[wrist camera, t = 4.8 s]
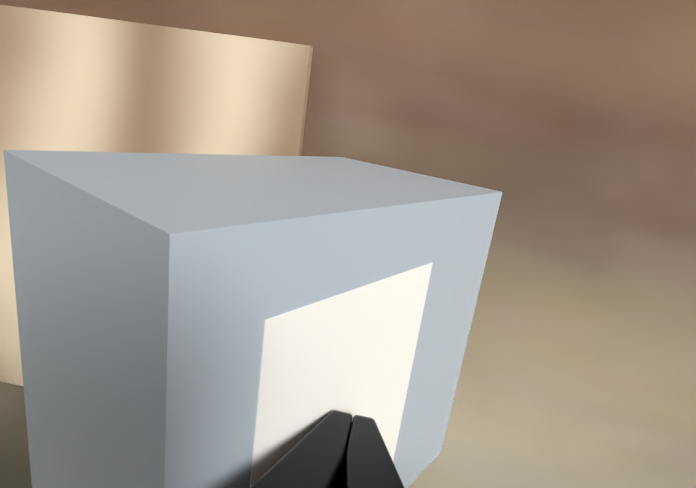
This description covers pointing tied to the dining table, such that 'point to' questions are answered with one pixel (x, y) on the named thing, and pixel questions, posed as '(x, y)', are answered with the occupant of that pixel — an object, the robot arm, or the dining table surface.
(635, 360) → the dining table surface
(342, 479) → the robot arm
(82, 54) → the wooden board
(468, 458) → the dining table surface
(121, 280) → the light blue rectangular block
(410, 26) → the dining table surface
